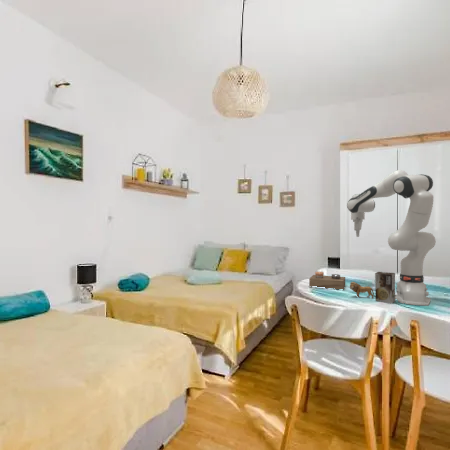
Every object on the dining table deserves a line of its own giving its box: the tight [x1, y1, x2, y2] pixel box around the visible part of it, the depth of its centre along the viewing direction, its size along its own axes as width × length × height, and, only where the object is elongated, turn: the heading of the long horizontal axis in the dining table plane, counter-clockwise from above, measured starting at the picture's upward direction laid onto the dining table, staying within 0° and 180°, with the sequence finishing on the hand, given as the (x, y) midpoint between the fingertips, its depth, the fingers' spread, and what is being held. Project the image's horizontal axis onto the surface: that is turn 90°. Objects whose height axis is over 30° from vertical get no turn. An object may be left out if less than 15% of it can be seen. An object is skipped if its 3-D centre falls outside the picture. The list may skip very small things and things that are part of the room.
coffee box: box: [374, 271, 396, 304], centre depth 179 cm, size 9×6×16 cm
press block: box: [308, 274, 346, 290], centre depth 219 cm, size 16×22×6 cm
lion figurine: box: [349, 281, 376, 299], centre depth 188 cm, size 15×5×9 cm, turn 71°
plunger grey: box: [331, 273, 341, 279], centre depth 217 cm, size 6×6×8 cm
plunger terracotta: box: [314, 271, 325, 278], centre depth 222 cm, size 6×6×8 cm
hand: (357, 236), depth 223 cm, fingers closed
